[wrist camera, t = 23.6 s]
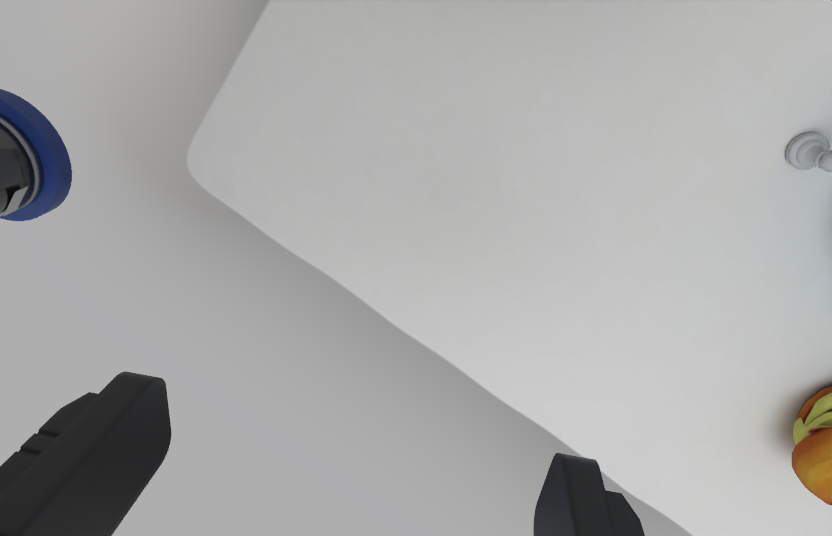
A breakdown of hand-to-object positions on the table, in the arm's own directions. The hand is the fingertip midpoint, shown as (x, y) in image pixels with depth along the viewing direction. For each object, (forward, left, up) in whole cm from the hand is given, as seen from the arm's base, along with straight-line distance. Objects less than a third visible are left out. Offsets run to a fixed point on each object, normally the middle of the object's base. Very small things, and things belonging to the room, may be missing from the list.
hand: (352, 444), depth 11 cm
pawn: (+26, +2, -33) cm, 42 cm away
